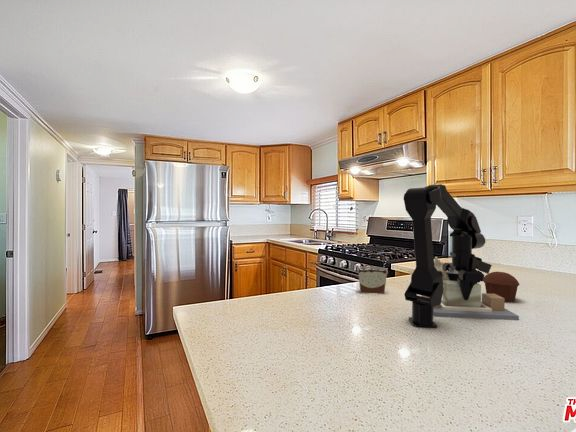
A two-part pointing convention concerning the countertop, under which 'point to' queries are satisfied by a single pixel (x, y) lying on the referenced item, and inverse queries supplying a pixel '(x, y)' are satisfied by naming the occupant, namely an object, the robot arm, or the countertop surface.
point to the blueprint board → (478, 309)
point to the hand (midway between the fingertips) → (461, 297)
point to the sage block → (460, 295)
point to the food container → (372, 279)
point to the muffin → (501, 285)
